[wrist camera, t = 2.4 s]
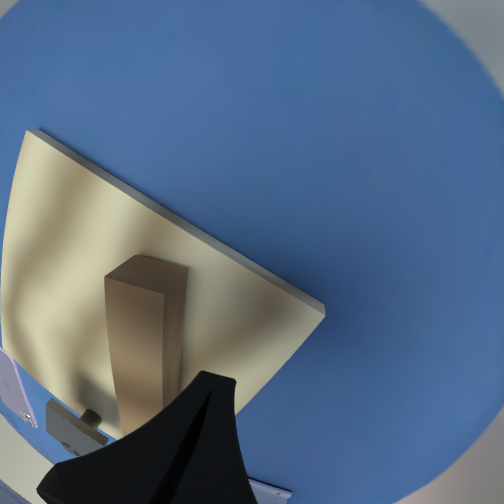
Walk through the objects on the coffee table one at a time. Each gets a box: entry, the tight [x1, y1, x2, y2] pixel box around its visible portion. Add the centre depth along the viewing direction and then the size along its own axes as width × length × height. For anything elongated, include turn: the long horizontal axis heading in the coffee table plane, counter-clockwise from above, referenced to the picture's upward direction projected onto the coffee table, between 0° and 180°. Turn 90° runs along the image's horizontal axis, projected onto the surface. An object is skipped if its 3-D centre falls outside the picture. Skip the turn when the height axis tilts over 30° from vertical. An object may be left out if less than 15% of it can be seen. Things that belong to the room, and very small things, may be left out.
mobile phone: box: [0, 345, 38, 428], centre depth 26 cm, size 8×1×15 cm
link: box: [104, 254, 188, 436], centre depth 17 cm, size 18×4×3 cm, turn 170°
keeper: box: [46, 398, 109, 456], centre depth 19 cm, size 10×6×5 cm, turn 60°
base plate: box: [1, 129, 326, 440], centre depth 19 cm, size 21×22×1 cm
